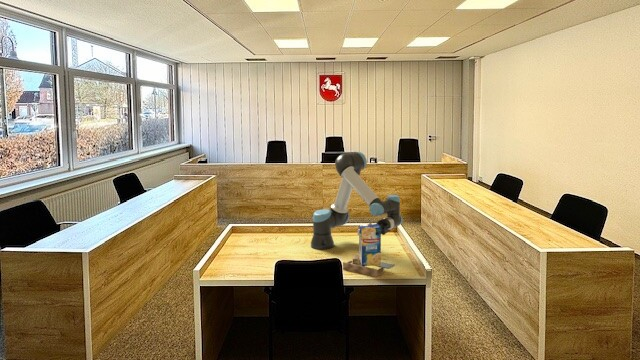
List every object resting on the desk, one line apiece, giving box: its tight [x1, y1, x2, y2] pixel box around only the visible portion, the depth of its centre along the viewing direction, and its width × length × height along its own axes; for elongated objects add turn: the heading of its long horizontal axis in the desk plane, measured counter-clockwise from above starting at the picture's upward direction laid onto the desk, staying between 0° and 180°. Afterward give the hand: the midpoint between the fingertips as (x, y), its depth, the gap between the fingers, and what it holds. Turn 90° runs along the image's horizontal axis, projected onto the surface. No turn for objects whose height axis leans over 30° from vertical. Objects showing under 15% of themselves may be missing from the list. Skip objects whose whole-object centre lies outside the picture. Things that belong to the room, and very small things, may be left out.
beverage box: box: [358, 223, 382, 267], centre depth 298 cm, size 7×11×22 cm, turn 98°
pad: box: [375, 261, 395, 269], centre depth 309 cm, size 16×7×1 cm, turn 54°
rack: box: [342, 260, 385, 278], centre depth 299 cm, size 22×8×4 cm, turn 54°
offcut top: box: [351, 254, 359, 264], centre depth 306 cm, size 3×7×3 cm, turn 170°
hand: (364, 233), depth 293 cm, fingers closed on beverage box, 8 cm apart
